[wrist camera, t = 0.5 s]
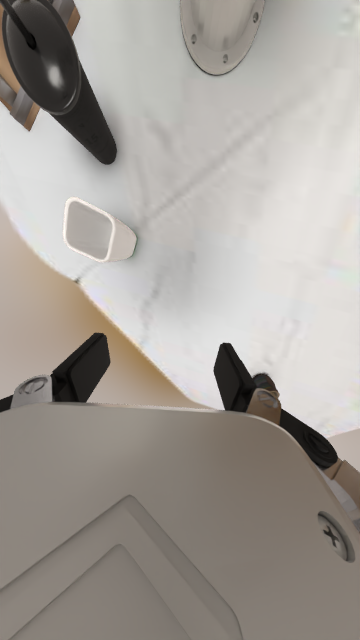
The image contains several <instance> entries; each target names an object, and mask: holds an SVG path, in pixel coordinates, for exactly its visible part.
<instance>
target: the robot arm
mask: <svg viewBox="0 0 360 640" xmlns="http://www.w3.org/2000/svg"><path fill="white" fill-rule="evenodd" d="M264 3H265V0H180V13H181V24H182V30H183V35H184V38H185V42H186V45H187V48H188V50H189V52H190V55H191V56H192V58H193V59H194V61H195V62H196V64H197V65H198V66H199V67H200V68H201V69H202V70H204V71H206V72H207V73H210V74H214V75H218V74H224V73H226V72H229V71H230V70H232V69H233V68H234V67H236V66H237V65H238V64H239V62H240V61H241V60H242V59H243V58H244V56H245V55H246V53H247V52H248V50H249V48H250V46H251V44H252V42H253V40H254V37H255V34H256V32H257V29H258V26H259V23H260V19H261V16H262V13H263V8H264ZM109 365H110V356H109V350H108V343H107V337H106V335H104V334H103V333H94V334H93V335H92V336H91V337H90V338H89V339H88V340H86V342H84V343H83V344H82V345H81V346H80V347H79V348H78V349H77V350H75V351H74V352H73V353H72V354H71V355H70V356H69V357H68V358H67V359H66V360H65V361H64V362H63V363H61V364H60V365H59V366H58V367H57V368H56V369H55V370H54V371H53V374H51V375H50V376H49V375H39V376H35V377H32V378H30V379H28V380H26V381H24V382H23V383H22V384H20V385H19V386H18V387H17V388H16V389H15V391H14V395H11V396H9V397H6V398H4V399H1V400H0V640H360V473H359V472H358V471H357V470H356V469H355V468H354V467H353V466H351V465H350V464H349V463H348V462H347V461H346V460H343V461H342V460H341V459H339V458H338V456H337V453H336V451H335V449H334V448H333V446H332V445H331V444H330V443H329V442H328V440H327V439H326V438H325V437H323V436H322V435H321V434H319V433H318V432H317V431H315V430H314V429H312V428H311V427H309V426H307V425H306V424H304V423H303V422H301V421H300V420H298V419H297V418H295V417H294V416H292V415H291V414H289V413H288V412H286V411H285V410H283V409H282V408H281V403H280V401H279V400H278V398H277V397H276V396H275V395H274V394H273V393H271V392H270V391H268V390H266V389H262V388H258V387H257V386H256V384H255V382H254V381H253V379H252V377H251V376H250V374H249V372H248V371H247V369H246V367H245V366H244V364H243V362H242V361H241V360H240V358H239V357H238V355H237V353H236V352H235V350H234V348H233V347H232V345H231V343H223V344H221V345H220V347H219V351H218V355H217V358H216V362H215V366H214V375H215V378H216V381H217V385H218V388H219V391H220V395H221V398H222V401H223V405H224V408H225V410H212V409H196V408H180V407H161V406H144V405H125V404H102V403H86V401H87V400H88V398H89V397H90V395H91V394H92V392H93V390H94V389H95V387H96V386H97V384H98V382H99V381H100V379H101V378H102V376H103V375H104V373H105V372H106V370H107V368H108V367H109Z"/></svg>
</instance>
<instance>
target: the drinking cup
mask: <svg viewBox="0 0 360 640" xmlns="http://www.w3.org/2000/svg"><path fill="white" fill-rule="evenodd" d="M0 4H1V5H2V7H3V8H4V10H3V15H2V37H3V43H4V48H5V52H6V55H7V58H8V61H9V64H10V66H11V69H12V71H13V73H14V75H15V77H16V79H17V81H18V82H19V84H20V86H21V87H22V88H23V90H24V91H25V93H26V94H27V95H28V96H29V97H30V98H31V99H32V101H33V102H35V103H36V104H37V105H38V106H39V107H40V108H42V109H43V110H45V111H47V112H48V113H49V114H50V115H51V116H53V117H54V118H55V119H56V120H57V121H58V122H59V123H60V124H61V125H62V126H63V127H64V128H65V129H66V130H67V131H68V132H69V133H70V134H72V135H73V136H74V137H75V138H76V139H77V140H78V141H79V142H80V143H81V144H82V145H83V146H84V147H85V148H86V149H87V150H88V151H89V152H90V153H92V154H93V155H94V156H95V157H96V158H97V159H98V160H99V161H100V162H101V163H103V164H111V163H112V162H113V161H114V160H115V158H116V153H117V149H116V144H115V141H114V139H113V136H112V134H111V132H110V129H109V127H108V125H107V122H106V120H105V118H104V116H103V113H102V111H101V109H100V106H99V104H98V102H97V100H96V97H95V95H94V93H93V90H92V88H91V86H90V84H89V81H88V79H87V77H86V74H85V72H84V70H83V68H82V65H81V63H80V61H79V58H78V54H77V50H76V47H75V44H74V41H73V39H72V37H71V34H70V32H69V30H68V28H67V26H66V24H65V22H64V21H63V19H62V17H61V16H60V14H59V13H58V12H57V10H56V9H55V8H54V7H53V5H52V4H51V3H50V2H49V1H48V0H0Z"/></svg>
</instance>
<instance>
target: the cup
mask: <svg viewBox="0 0 360 640" xmlns="http://www.w3.org/2000/svg"><path fill="white" fill-rule="evenodd" d="M63 239H64V242H65V244H66V245H67V246H68V247H69V248H70V249H71V250H73V251H75V252H77V253H79V254H82V255H84V256H86V257H88V258H91V259H93V260H95V261H97V262H101V263H102V262H113V261H119V260H124V259H126V258H129V257H130V256H132V254H133V251H134V248H135V244H136V240H137V238H136V235H135V234H134V232H133V231H132V230H131V229H130V228H129V227H128V226H126V225H125V224H124V223H122V222H121V221H120V220H118V219H117V218H115V217H113V216H112V215H110V214H108V213H107V212H105V211H103V210H101V209H99V208H97V207H95V206H94V205H92V204H90V203H88V202H86V201H84V200H82V199H80V198H77V197H70V198H69V199H68V200H67V201H66V204H65V211H64V224H63Z"/></svg>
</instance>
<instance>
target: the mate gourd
mask: <svg viewBox="0 0 360 640" xmlns="http://www.w3.org/2000/svg"><path fill="white" fill-rule="evenodd" d="M253 381H254V382H255V384H256V386H257V387H258V388H262V389H266V390H268V391H270V392H271V393H273V394H274V395H275V396H276V397H277V398H278V397H279V392H278V391H277V389H276V387H275V384H274V382H273V381H272V379H271V378H270V377H269V376H267V375H257V376H256V377H255V378H254V380H253Z"/></svg>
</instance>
